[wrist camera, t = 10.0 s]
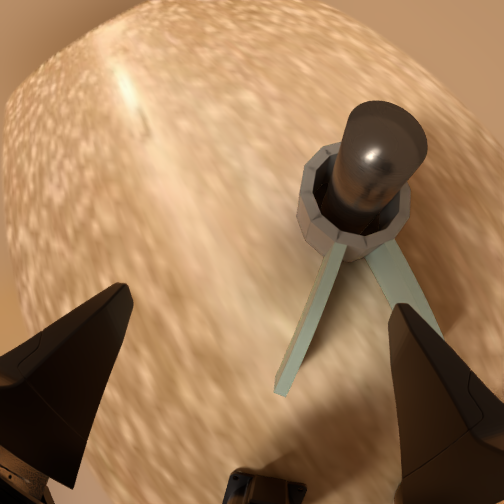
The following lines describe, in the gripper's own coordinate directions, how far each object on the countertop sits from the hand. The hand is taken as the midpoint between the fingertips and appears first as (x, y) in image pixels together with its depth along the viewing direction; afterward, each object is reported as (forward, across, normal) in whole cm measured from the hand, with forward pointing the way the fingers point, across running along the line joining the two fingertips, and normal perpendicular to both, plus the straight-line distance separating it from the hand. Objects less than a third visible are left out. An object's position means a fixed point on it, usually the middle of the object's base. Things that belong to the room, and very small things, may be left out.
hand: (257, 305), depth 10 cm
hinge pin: (+15, -5, +4) cm, 17 cm away
